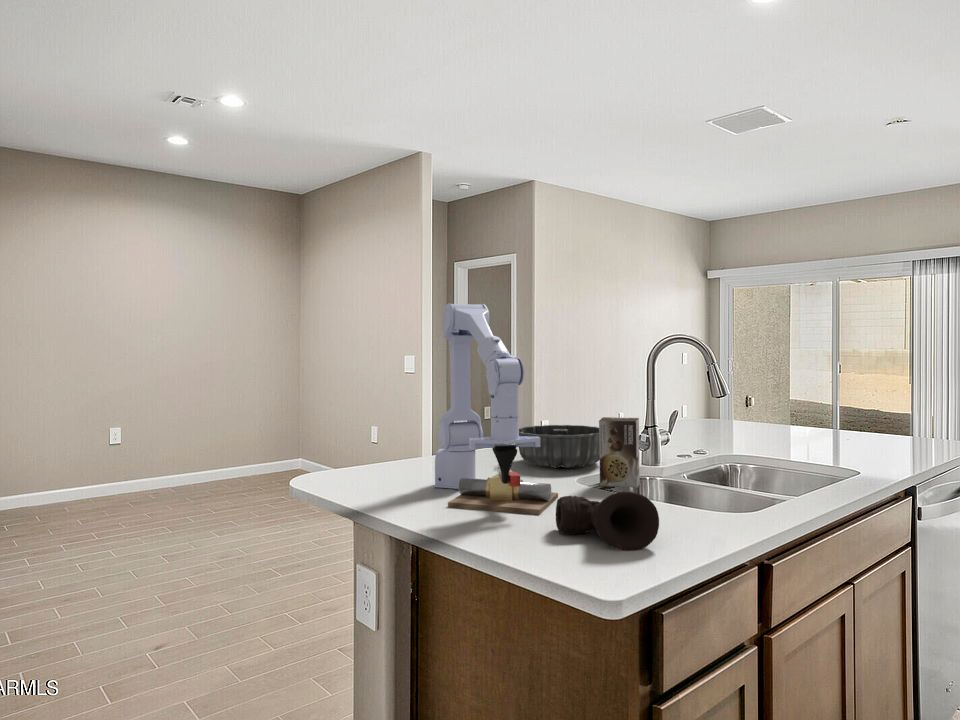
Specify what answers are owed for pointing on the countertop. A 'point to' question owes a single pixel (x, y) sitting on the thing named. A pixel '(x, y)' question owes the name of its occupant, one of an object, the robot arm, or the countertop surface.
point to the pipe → (611, 519)
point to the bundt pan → (562, 445)
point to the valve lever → (512, 478)
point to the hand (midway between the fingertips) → (505, 482)
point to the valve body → (504, 489)
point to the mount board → (502, 504)
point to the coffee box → (619, 452)
